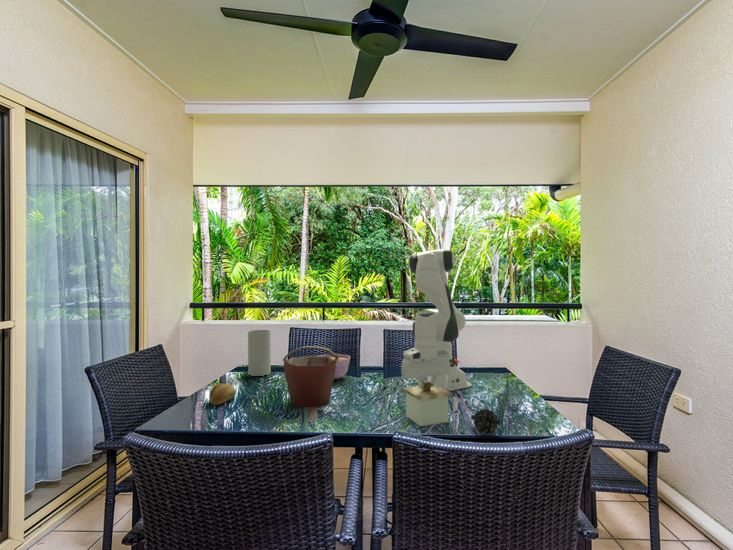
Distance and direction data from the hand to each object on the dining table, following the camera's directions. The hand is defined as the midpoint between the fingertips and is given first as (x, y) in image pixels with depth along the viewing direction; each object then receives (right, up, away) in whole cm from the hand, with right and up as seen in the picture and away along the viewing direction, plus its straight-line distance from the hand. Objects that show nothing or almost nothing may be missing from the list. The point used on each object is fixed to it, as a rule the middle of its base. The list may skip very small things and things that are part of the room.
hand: (426, 387), depth 161 cm
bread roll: (-89, -14, +25) cm, 93 cm away
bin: (0, -12, 0) cm, 12 cm away
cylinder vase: (-85, -14, +76) cm, 115 cm away
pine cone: (+19, -12, -12) cm, 26 cm away
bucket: (-49, -13, +23) cm, 55 cm away
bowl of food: (-42, -13, +66) cm, 80 cm away
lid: (0, -2, 0) cm, 2 cm away
